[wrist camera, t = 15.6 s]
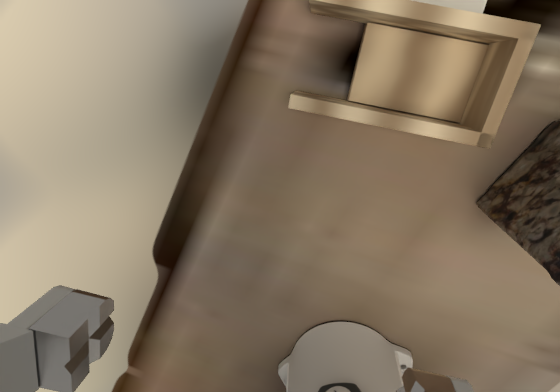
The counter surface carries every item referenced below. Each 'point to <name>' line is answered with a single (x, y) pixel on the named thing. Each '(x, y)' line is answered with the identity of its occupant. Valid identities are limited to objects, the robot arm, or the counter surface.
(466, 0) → the mat
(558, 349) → the counter surface
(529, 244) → the stone block
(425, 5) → the channel
